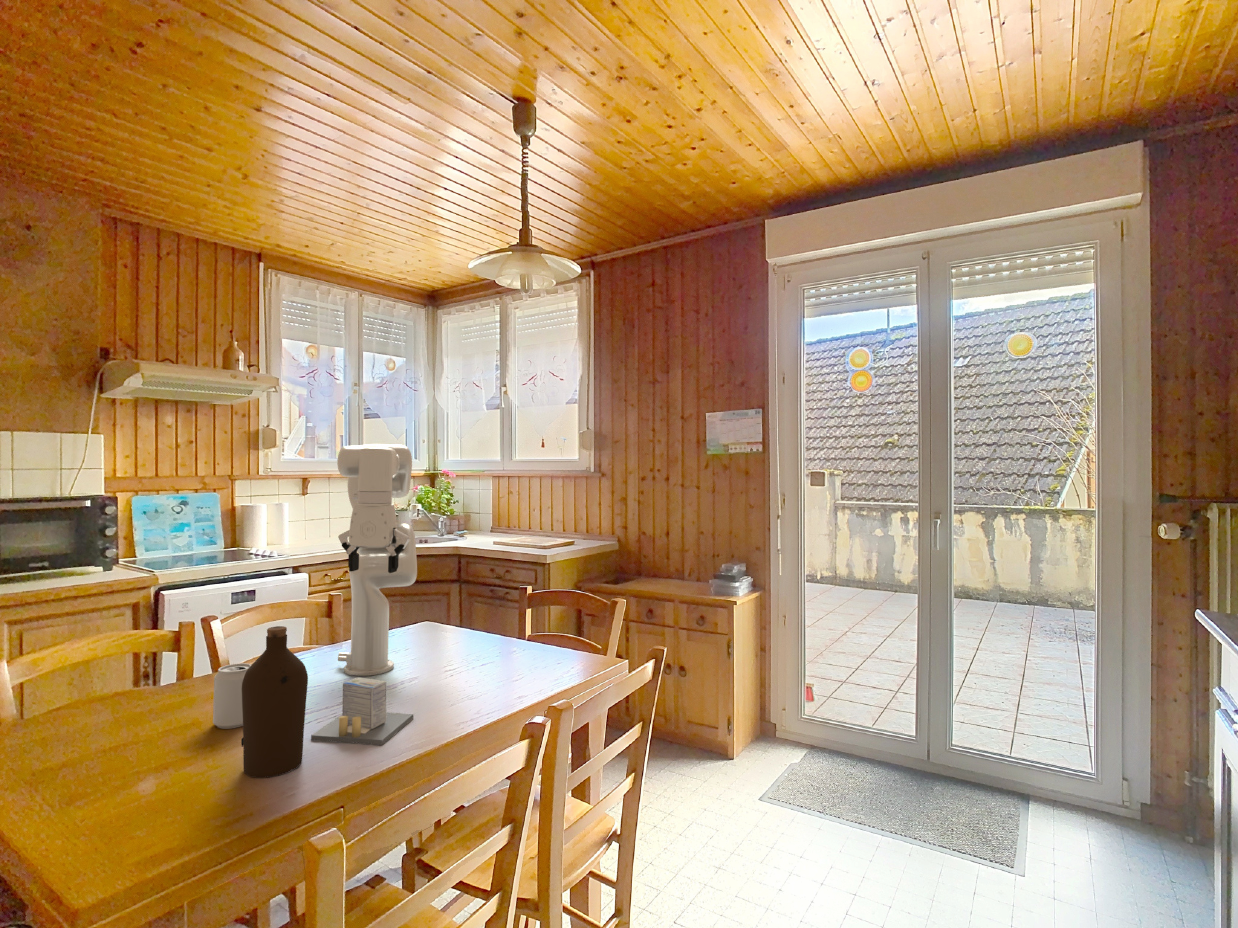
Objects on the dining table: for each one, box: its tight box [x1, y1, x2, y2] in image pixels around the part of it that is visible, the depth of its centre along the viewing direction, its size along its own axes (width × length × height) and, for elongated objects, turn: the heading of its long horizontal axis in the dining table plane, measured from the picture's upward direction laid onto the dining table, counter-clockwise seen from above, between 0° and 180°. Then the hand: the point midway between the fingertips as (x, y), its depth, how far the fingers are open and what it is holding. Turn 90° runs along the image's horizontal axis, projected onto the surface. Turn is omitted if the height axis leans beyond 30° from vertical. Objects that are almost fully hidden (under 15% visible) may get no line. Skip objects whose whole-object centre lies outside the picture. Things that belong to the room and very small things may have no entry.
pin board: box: [310, 711, 414, 746], centre depth 134 cm, size 15×14×4 cm
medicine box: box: [341, 676, 387, 729], centre depth 134 cm, size 8×4×9 cm, turn 69°
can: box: [212, 662, 252, 730], centre depth 136 cm, size 8×8×12 cm
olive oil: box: [240, 625, 309, 779], centre depth 117 cm, size 11×11×25 cm
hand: (373, 571), depth 152 cm, fingers open, 9 cm apart
